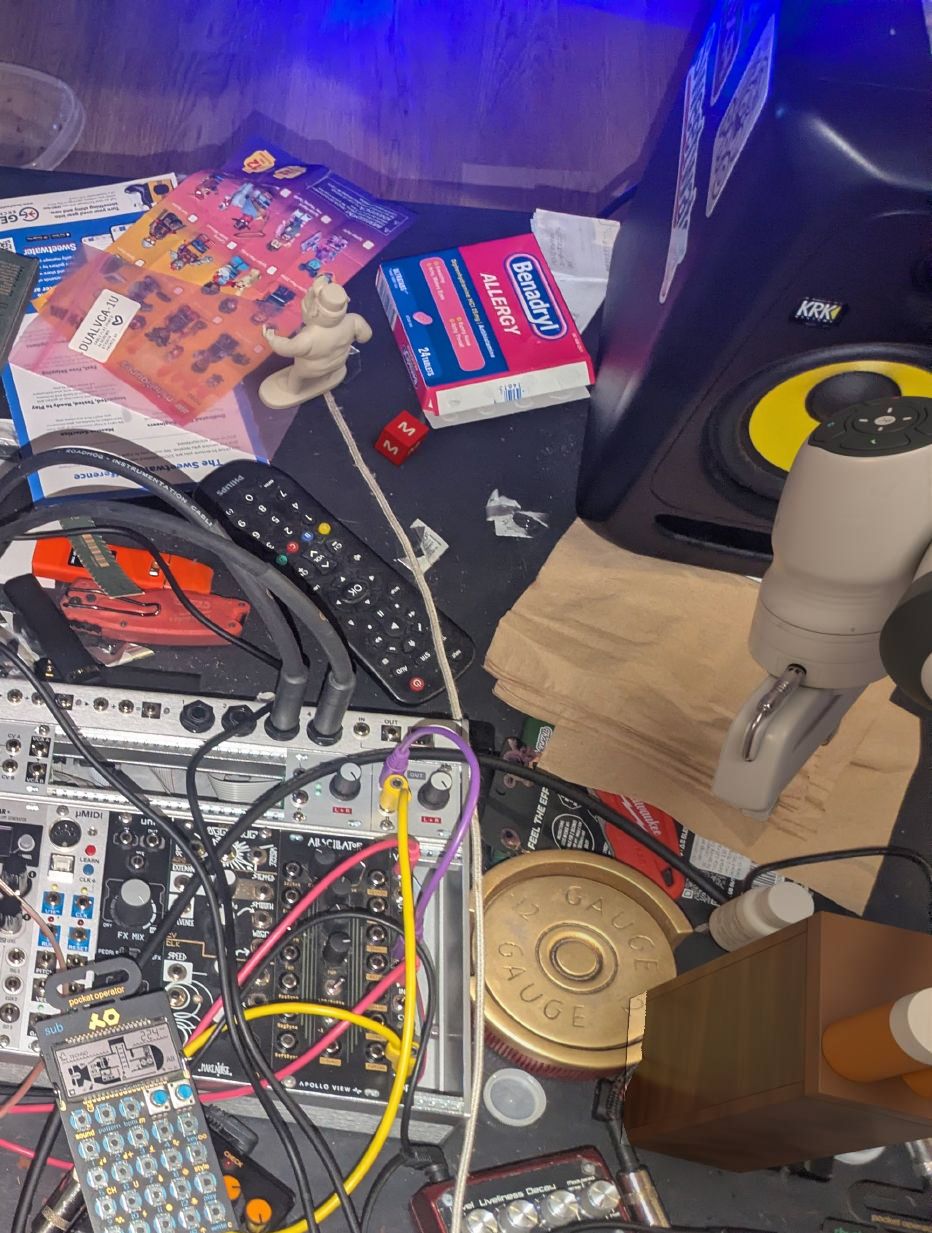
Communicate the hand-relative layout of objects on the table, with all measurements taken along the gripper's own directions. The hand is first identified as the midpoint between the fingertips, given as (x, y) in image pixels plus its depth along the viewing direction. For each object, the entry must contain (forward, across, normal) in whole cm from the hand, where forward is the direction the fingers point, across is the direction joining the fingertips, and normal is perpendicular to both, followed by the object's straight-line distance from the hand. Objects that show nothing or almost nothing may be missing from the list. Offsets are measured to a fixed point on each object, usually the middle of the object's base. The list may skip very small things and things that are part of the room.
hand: (788, 775), depth 101 cm
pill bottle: (+17, -1, +1) cm, 17 cm away
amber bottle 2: (0, -20, -17) cm, 26 cm away
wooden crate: (+21, -15, -2) cm, 26 cm away
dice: (-8, +17, +43) cm, 47 cm away
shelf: (0, -18, -13) cm, 22 cm away
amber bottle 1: (-1, -22, -13) cm, 26 cm away
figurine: (-13, +17, +53) cm, 57 cm away
